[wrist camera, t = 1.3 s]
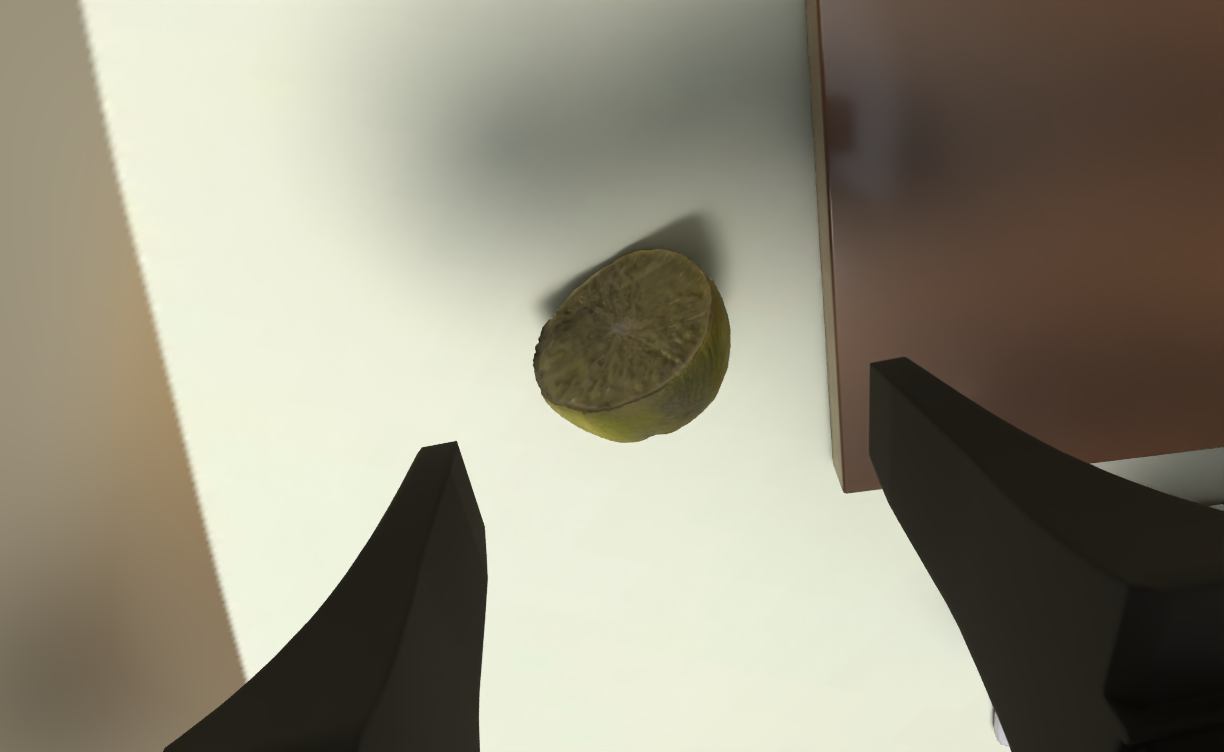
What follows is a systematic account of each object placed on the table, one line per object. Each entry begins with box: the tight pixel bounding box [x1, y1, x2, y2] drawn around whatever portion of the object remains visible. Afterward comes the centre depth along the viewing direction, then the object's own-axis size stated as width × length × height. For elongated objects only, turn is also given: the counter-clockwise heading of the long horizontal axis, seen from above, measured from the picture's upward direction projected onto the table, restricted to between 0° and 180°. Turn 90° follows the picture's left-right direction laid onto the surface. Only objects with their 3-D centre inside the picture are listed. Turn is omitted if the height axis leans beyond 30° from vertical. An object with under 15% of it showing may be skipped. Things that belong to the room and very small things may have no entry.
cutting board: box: [806, 0, 1224, 493], centre depth 21 cm, size 18×18×2 cm
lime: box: [533, 249, 731, 443], centre depth 22 cm, size 4×5×5 cm
